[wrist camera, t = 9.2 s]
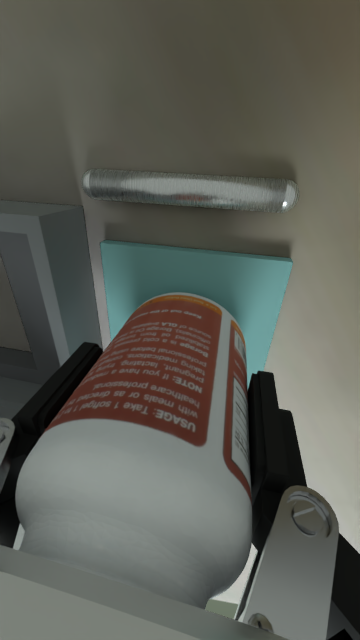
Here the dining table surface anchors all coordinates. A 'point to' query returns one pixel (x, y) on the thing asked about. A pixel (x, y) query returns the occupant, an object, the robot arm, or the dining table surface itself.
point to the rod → (192, 190)
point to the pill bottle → (150, 458)
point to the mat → (199, 286)
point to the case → (45, 294)
